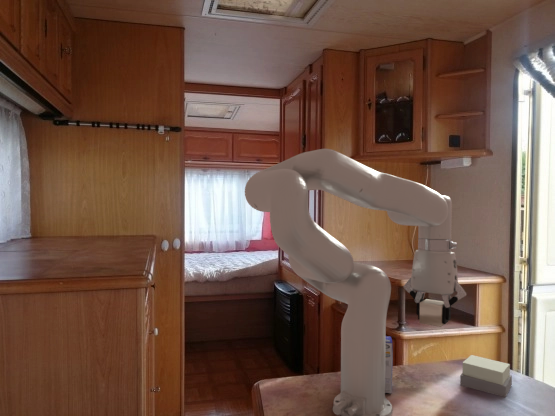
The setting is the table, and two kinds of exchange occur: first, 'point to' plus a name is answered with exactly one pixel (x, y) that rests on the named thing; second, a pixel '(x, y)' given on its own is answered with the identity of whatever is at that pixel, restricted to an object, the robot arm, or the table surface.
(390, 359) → the ink cartridge box
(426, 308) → the birch cube
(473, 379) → the tower base block
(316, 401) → the table surface
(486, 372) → the tower top block
